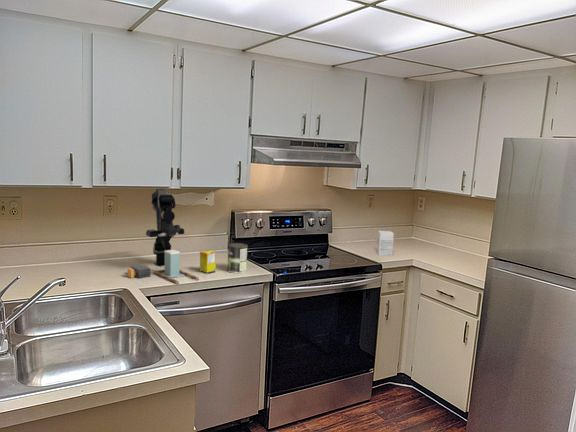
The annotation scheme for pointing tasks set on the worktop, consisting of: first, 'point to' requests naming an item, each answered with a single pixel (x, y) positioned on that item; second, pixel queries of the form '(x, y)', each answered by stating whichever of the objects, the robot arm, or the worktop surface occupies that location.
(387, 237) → the supplement box
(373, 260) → the worktop surface
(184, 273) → the track
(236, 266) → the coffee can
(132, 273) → the plunger
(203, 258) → the supplement box
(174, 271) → the pale teal box
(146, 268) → the reset housing
